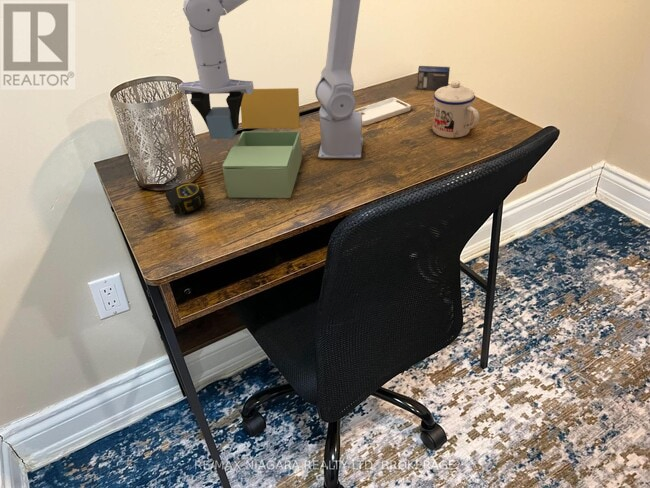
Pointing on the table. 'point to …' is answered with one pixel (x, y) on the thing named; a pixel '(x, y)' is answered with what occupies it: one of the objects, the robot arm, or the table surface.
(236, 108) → the robot arm
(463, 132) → the teacup with lid
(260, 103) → the lid
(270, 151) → the green open box
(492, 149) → the table surface
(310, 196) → the table surface
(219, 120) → the cube
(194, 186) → the tape measure
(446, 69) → the mini dv tape
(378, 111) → the phone case
